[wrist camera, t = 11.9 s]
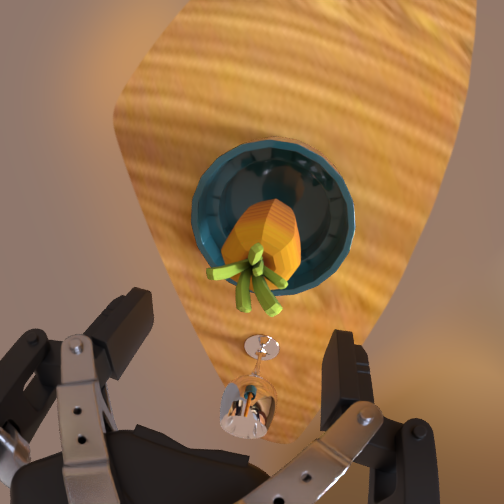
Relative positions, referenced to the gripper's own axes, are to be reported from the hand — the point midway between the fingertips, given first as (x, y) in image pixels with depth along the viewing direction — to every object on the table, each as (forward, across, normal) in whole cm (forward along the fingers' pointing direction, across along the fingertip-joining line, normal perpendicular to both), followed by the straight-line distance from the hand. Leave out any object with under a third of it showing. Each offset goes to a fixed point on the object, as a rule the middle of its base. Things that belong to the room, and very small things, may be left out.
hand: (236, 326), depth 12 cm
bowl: (+17, 0, 0) cm, 17 cm away
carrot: (+17, 0, 0) cm, 17 cm away
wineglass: (+17, -1, +18) cm, 25 cm away
